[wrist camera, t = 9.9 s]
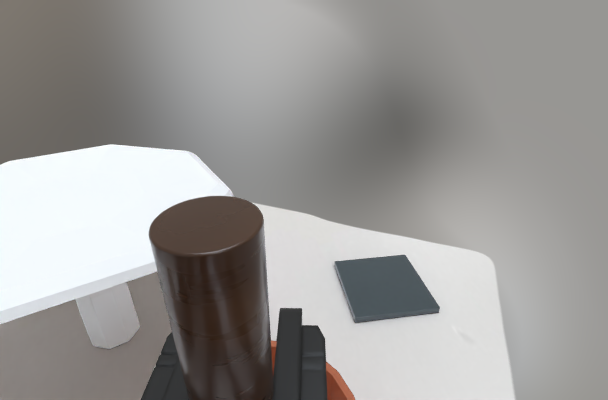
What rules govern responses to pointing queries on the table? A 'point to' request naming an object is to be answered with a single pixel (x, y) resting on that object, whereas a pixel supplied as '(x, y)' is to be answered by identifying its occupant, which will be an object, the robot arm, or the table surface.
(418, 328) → the table surface
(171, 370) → the robot arm
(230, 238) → the stirrer
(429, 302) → the square plate
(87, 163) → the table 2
